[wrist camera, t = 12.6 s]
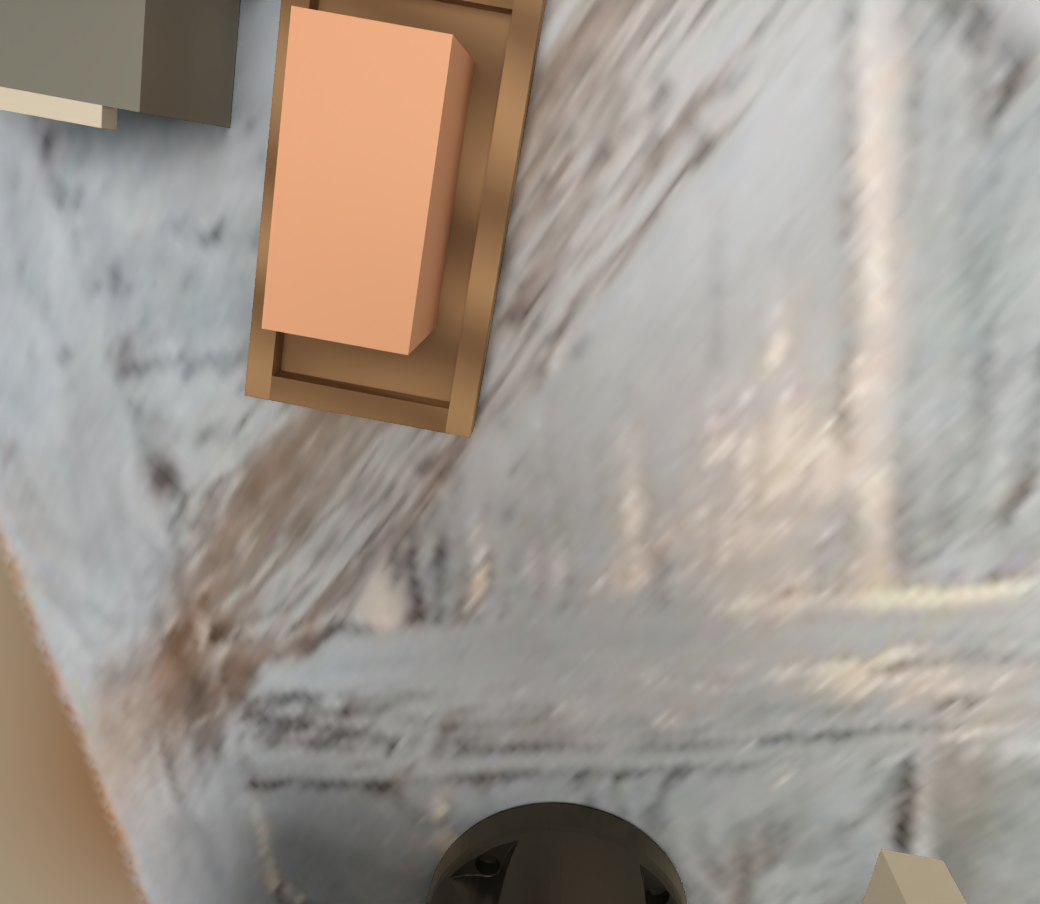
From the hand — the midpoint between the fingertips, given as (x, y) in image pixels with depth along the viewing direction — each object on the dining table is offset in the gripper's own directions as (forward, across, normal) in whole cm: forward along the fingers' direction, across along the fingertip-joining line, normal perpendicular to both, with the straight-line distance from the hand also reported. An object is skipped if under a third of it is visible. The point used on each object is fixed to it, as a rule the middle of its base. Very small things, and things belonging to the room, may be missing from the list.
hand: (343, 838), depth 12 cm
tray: (+35, +7, -6) cm, 36 cm away
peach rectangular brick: (+34, +7, -7) cm, 35 cm away
